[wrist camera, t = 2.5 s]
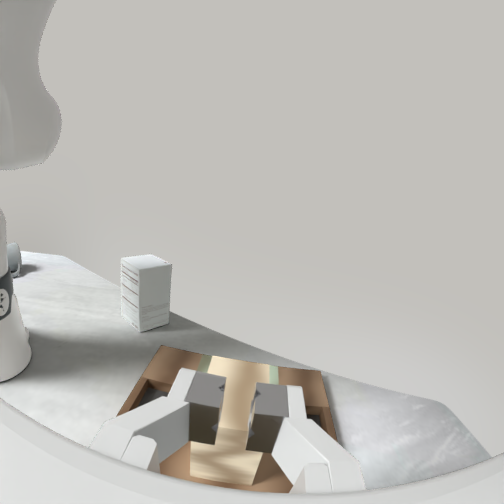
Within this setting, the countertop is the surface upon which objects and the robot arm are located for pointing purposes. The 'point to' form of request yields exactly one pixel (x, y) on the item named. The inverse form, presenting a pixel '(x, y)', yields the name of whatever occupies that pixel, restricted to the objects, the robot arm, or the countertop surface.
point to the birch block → (231, 426)
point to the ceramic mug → (14, 258)
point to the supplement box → (145, 291)
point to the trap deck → (172, 360)
